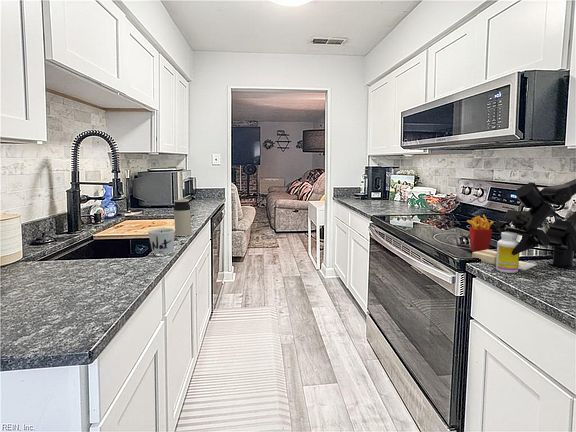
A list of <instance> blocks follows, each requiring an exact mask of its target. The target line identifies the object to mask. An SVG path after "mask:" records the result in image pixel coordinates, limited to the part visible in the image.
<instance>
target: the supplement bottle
mask: <svg viewBox="0 0 576 432" xmlns="http://www.w3.org/2000/svg"><path fill="white" fill-rule="evenodd" d="M501 237H502V239H501V240H499V239H498V240H499V241H497V242H496V246H497V249H496V251H497V256H496V264H495V269H496V270H497V271H498V272H501V273H505V274H515V273H518V272H519V269H518V266H519V261H520V253H518V254H516V255H512V251H513V250H514V248H515V247H516V246H517V244H518V243H519V242H520V241H518V240H517V238H518V235H517V233H513V232H502V233H501Z"/></svg>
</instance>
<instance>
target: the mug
mask: <svg viewBox="0 0 576 432" xmlns="http://www.w3.org/2000/svg"><path fill="white" fill-rule="evenodd" d="M147 234H148V237H149V238H148V239H149V243H150V247H151V250H152V253H153V252H154V253H170V252H173V253H174V244H175V228H156V229H155V228H154V229H150V230H148V231H147Z"/></svg>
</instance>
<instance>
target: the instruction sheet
mask: <svg viewBox="0 0 576 432" xmlns="http://www.w3.org/2000/svg"><path fill="white" fill-rule="evenodd" d="M535 266H538V264H537V263H531V262H526V261H521V260H519V266H518V270H522V271H527V270H529V269H531V268H534V267H535Z"/></svg>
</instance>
